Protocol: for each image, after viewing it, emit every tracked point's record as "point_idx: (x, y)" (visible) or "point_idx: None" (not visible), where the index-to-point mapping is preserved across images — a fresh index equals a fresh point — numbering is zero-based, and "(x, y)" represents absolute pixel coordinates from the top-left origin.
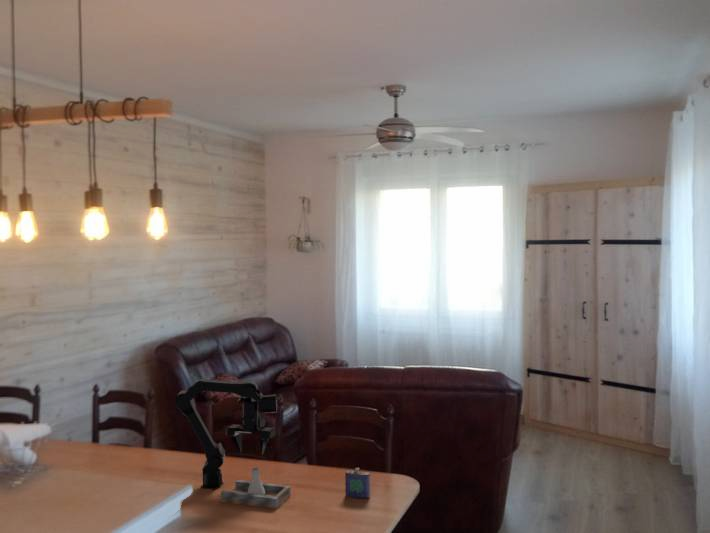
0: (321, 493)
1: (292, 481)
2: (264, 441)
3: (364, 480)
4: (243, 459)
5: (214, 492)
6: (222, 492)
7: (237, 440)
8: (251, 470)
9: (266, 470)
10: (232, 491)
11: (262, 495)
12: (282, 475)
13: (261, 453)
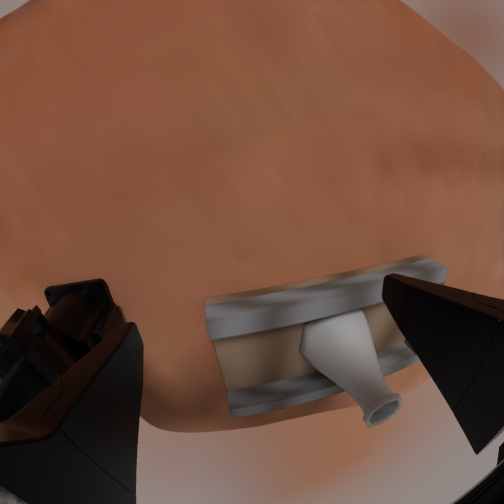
0: (481, 200)
1: (390, 122)
2: (498, 354)
3: None
4: (24, 10)
5: (145, 355)
6: (237, 416)
7: (127, 494)
8: (369, 425)
9: (194, 30)
10: (222, 349)
11: (382, 369)
12: (315, 63)
13: (394, 309)
